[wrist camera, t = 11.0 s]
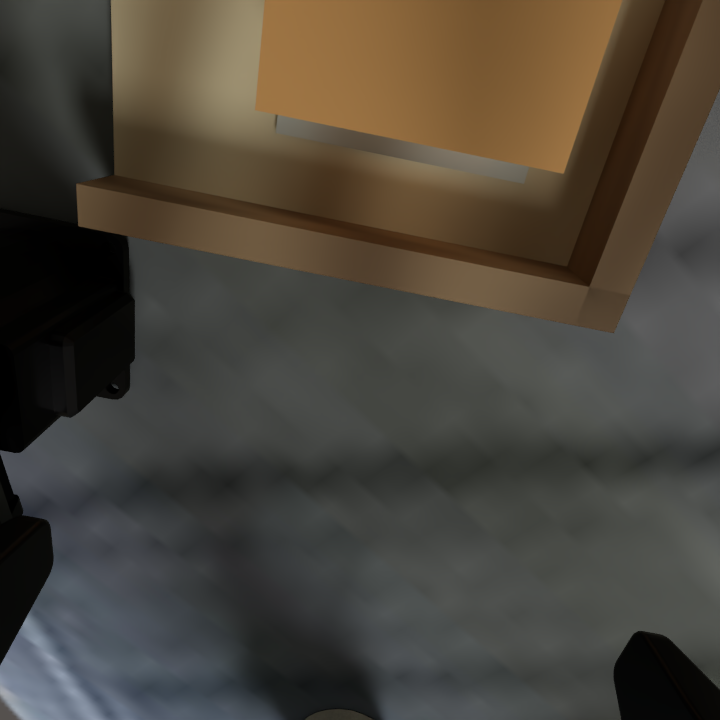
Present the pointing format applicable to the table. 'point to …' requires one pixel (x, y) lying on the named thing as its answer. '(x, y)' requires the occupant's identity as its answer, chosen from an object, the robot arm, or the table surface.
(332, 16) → the cube
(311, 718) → the house plant
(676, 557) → the table surface
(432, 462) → the table surface
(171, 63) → the arena
